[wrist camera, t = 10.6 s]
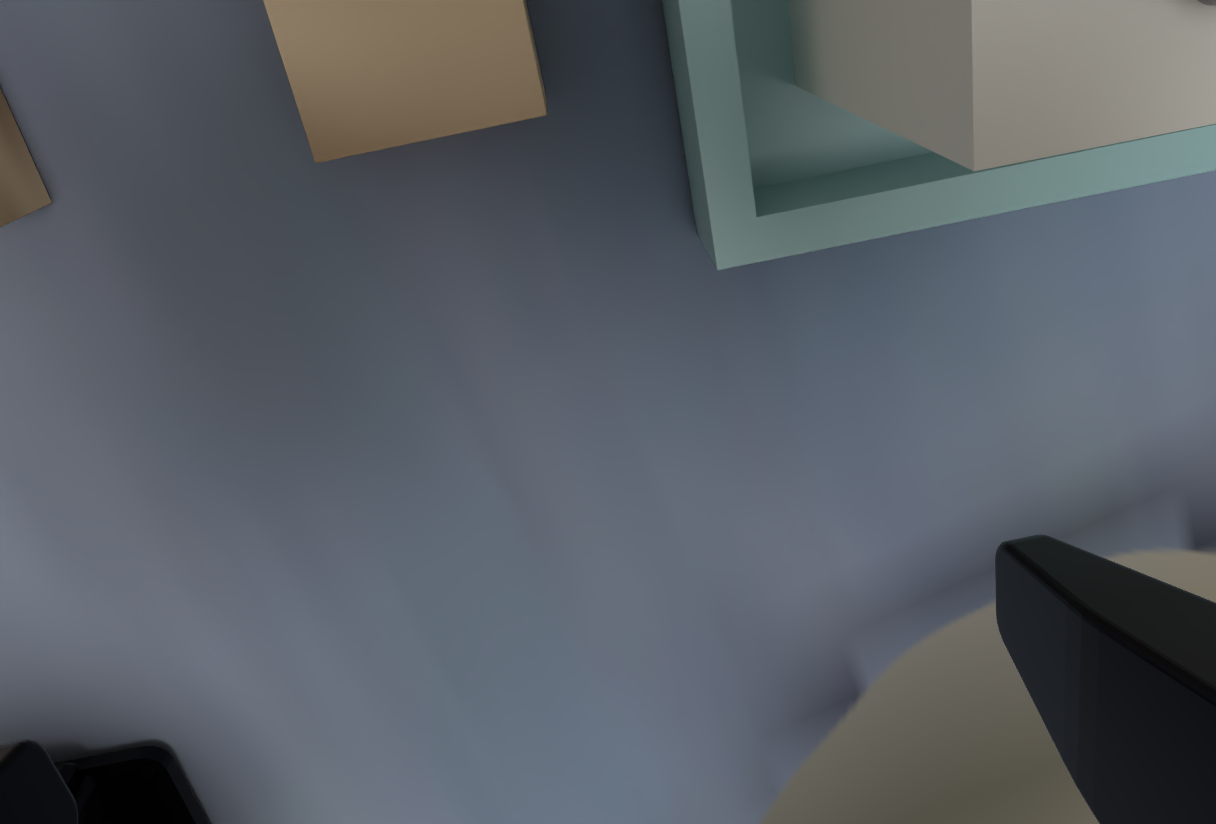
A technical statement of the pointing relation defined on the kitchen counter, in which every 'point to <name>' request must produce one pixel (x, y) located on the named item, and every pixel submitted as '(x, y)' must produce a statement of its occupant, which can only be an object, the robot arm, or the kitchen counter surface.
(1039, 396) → the kitchen counter surface
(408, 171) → the kitchen counter surface
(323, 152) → the bay
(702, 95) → the tray
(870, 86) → the white handled drawer
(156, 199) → the kitchen counter surface
